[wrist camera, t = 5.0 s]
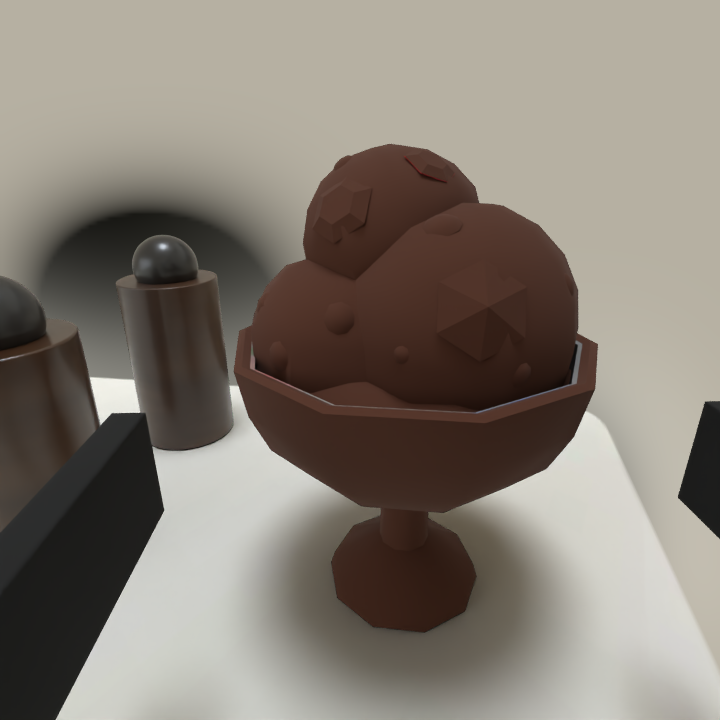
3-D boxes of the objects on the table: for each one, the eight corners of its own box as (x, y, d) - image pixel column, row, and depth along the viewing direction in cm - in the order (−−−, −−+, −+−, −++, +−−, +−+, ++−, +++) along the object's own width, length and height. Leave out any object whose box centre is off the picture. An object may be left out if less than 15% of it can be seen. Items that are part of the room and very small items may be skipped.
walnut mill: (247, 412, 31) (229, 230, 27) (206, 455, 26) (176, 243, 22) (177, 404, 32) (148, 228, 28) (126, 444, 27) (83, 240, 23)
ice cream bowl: (193, 634, 16) (101, 138, 11) (345, 461, 26) (339, 150, 20) (524, 797, 12) (662, 115, 6) (561, 519, 21) (630, 144, 16)
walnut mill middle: (148, 515, 22) (97, 263, 18) (59, 607, 17) (-38, 297, 13) (54, 499, 23) (-15, 258, 19) (-52, 581, 18) (-175, 288, 14)
